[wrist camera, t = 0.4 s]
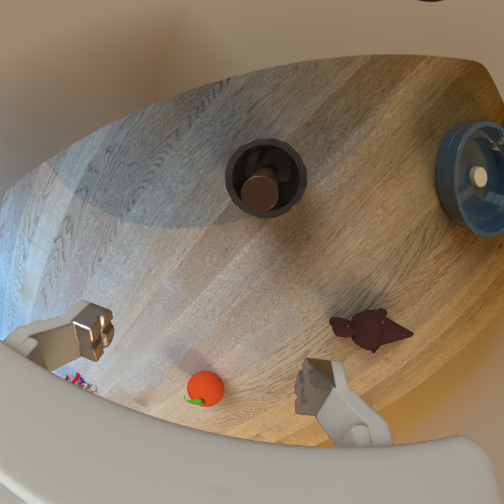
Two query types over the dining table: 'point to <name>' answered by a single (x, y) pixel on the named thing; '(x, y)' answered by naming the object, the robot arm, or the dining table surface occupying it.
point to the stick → (261, 190)
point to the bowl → (459, 185)
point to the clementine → (205, 389)
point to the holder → (277, 156)
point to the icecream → (370, 329)
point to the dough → (478, 176)
